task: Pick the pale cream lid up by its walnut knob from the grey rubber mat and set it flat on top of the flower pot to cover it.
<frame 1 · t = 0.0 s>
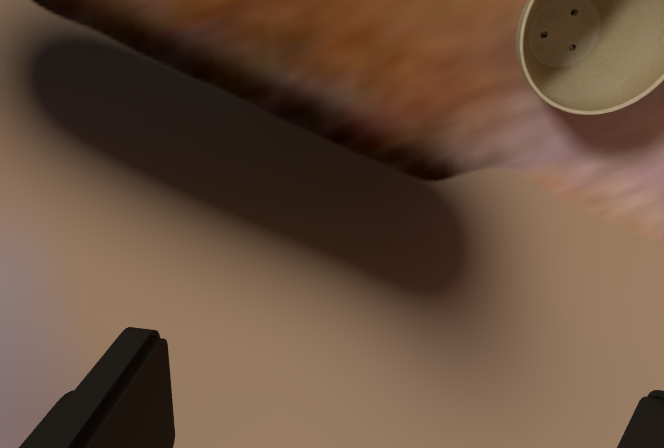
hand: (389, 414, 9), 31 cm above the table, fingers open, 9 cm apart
flower pot: (559, 30, 34), on the table
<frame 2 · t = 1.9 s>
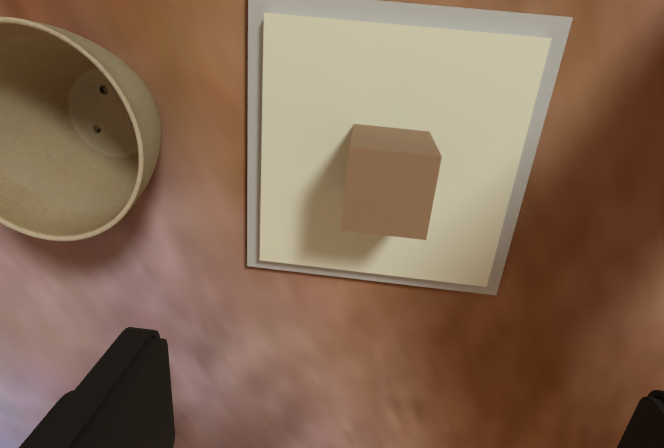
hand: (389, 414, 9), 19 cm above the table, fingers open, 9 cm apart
lid: (386, 159, 25), point 1 cm above the table, touching mat
flower pot: (118, 111, 27), on the table
mat: (386, 156, 26), on the table
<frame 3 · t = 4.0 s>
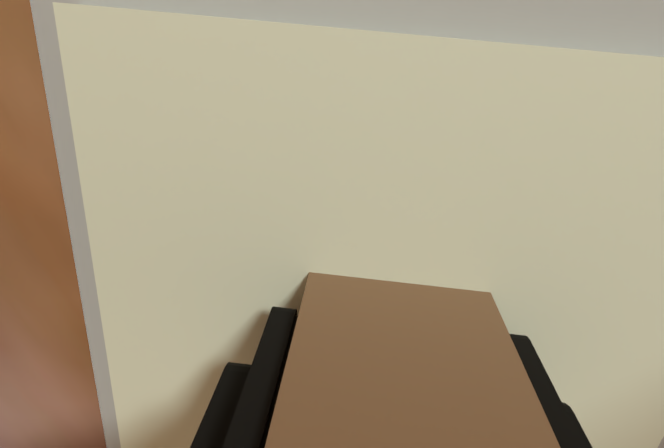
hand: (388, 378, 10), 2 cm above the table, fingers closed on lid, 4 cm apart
lid: (386, 333, 11), point 1 cm above the table, touching gripper, mat
mat: (385, 319, 12), on the table
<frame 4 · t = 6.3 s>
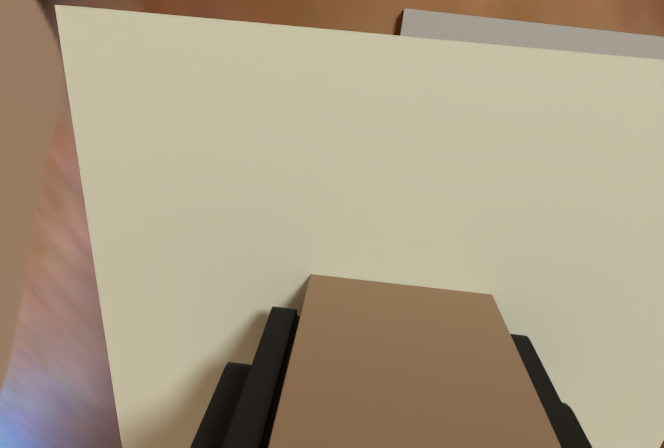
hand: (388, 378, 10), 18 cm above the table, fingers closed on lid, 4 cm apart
lid: (387, 335, 11), point 16 cm above the table, touching gripper
mat: (519, 177, 26), on the table
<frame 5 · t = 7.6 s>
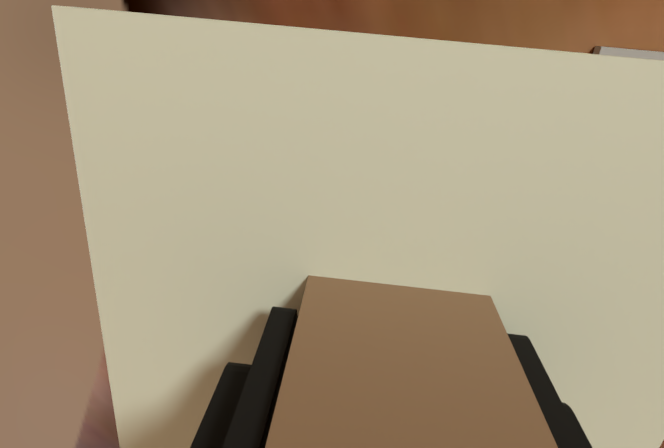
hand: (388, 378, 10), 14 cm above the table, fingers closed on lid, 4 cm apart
lid: (385, 336, 11), point 12 cm above the table, touching gripper
when the fingers open (10 cm above the table, at t = 8.5 s): lid drops 1 cm, resting on flower pot.
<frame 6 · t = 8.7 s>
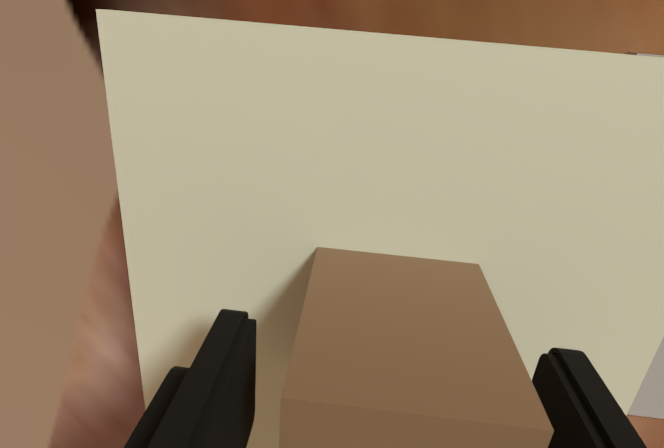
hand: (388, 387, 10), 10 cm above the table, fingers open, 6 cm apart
lid: (386, 304, 13), point 7 cm above the table, touching flower pot
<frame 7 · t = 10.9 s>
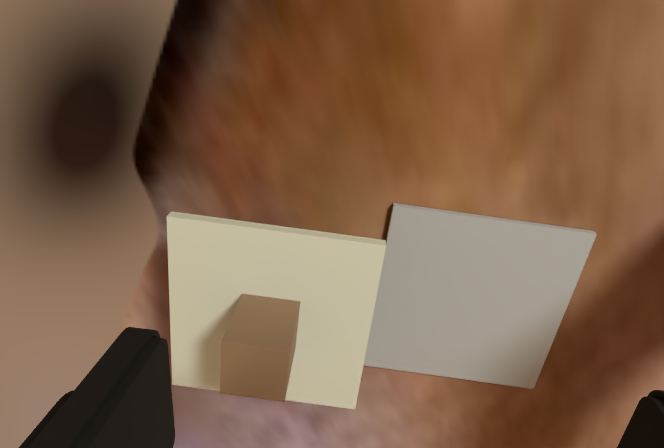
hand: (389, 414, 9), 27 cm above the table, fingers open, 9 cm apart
lid: (271, 314, 32), point 7 cm above the table, touching flower pot
mat: (468, 301, 39), on the table
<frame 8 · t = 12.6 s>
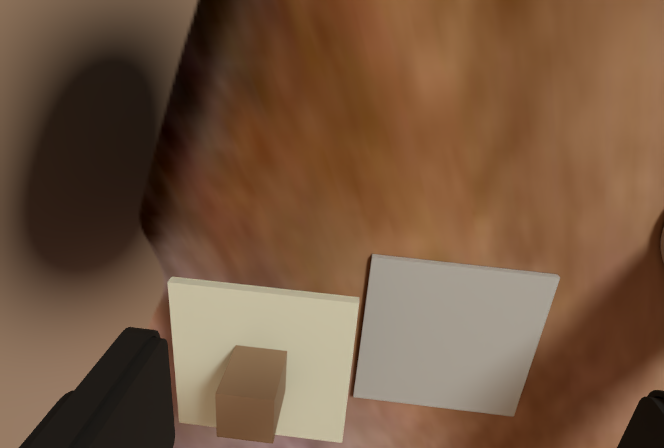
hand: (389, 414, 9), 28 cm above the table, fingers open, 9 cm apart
lid: (263, 361, 36), point 7 cm above the table, touching flower pot
mat: (446, 338, 42), on the table
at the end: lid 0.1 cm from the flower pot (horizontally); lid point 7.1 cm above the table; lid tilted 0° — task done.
